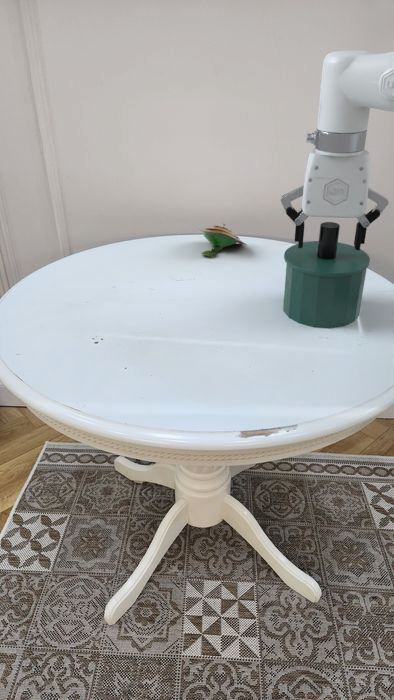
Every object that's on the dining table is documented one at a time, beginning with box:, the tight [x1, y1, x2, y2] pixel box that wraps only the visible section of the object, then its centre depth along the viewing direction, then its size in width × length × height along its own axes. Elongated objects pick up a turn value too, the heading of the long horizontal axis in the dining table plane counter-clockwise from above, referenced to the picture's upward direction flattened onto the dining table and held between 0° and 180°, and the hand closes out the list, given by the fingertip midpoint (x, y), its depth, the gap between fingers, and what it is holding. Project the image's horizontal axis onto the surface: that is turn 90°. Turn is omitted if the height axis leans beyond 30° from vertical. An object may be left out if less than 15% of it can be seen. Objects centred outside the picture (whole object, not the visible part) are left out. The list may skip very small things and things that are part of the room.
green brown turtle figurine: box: [194, 223, 248, 258], centre depth 123 cm, size 15×13×8 cm
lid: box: [283, 221, 371, 277], centre depth 92 cm, size 15×15×7 cm
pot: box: [282, 263, 368, 329], centre depth 96 cm, size 14×14×10 cm
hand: (328, 246), depth 92 cm, fingers open, 9 cm apart
